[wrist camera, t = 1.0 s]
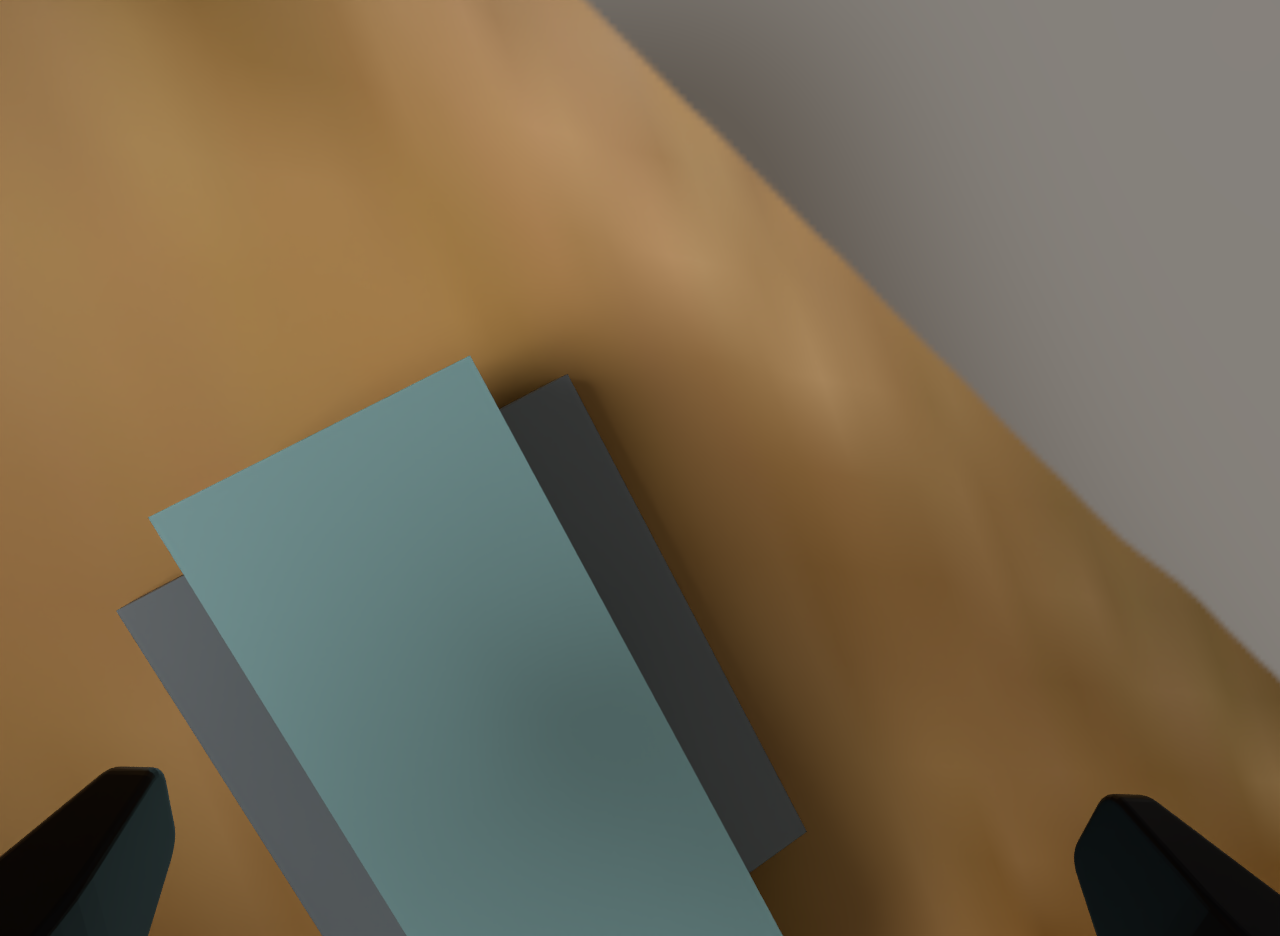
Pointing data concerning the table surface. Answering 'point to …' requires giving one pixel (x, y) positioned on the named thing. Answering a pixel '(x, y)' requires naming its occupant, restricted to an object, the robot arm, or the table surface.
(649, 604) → the label panel
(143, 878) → the robot arm
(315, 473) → the swing arm
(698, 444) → the table surface
